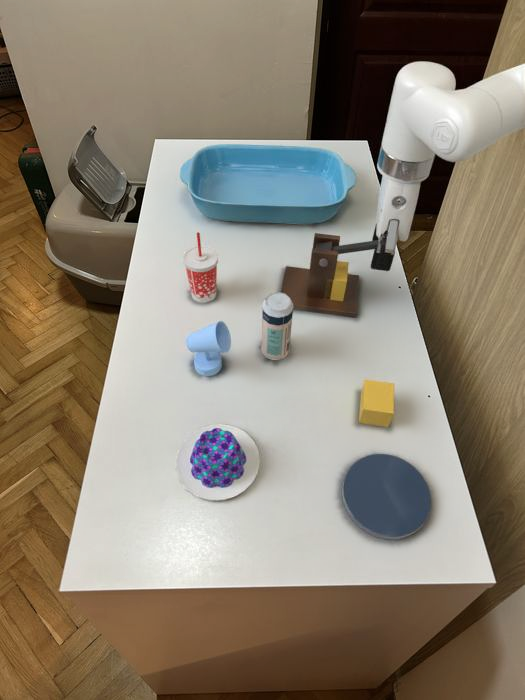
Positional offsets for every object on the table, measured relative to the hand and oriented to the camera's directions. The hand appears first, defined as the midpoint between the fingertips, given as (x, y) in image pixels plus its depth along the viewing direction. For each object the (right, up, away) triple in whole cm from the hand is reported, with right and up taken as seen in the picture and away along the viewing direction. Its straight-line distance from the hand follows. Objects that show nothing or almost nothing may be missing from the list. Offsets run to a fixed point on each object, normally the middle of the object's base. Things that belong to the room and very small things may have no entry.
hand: (380, 255), depth 89 cm
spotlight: (-28, -19, -2) cm, 34 cm away
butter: (-7, -5, +8) cm, 12 cm away
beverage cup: (-31, -6, +9) cm, 33 cm away
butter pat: (-3, -25, -7) cm, 26 cm away
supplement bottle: (-18, -16, +1) cm, 24 cm away
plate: (-3, -36, -16) cm, 40 cm away
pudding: (-26, -32, -13) cm, 44 cm away
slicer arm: (-5, 0, +1) cm, 5 cm away
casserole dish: (-19, +17, +27) cm, 37 cm away
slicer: (-9, -5, +9) cm, 14 cm away
